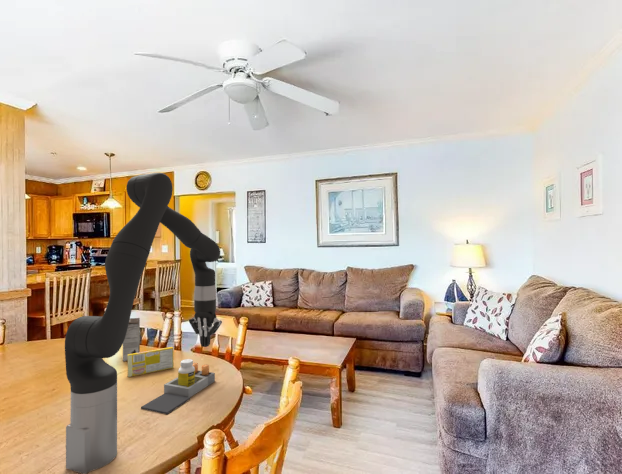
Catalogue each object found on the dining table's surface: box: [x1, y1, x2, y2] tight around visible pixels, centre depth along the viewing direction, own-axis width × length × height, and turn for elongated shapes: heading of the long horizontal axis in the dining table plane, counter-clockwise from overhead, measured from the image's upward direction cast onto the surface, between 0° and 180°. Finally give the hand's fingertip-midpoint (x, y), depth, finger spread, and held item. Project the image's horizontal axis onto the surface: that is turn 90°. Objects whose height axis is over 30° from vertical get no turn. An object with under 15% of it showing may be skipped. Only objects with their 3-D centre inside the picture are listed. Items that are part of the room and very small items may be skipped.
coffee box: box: [122, 317, 141, 362], centre depth 149 cm, size 9×6×16 cm
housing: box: [163, 369, 216, 398], centre depth 118 cm, size 14×10×3 cm
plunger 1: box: [192, 362, 199, 373], centre depth 124 cm, size 3×3×3 cm
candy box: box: [127, 346, 174, 378], centre depth 133 cm, size 16×2×8 cm, turn 123°
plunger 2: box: [201, 364, 210, 376], centre depth 122 cm, size 3×3×3 cm
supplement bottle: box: [177, 358, 195, 387], centre depth 117 cm, size 5×5×10 cm
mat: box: [140, 392, 191, 415], centre depth 106 cm, size 10×10×1 cm
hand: (205, 346), depth 122 cm, fingers closed
